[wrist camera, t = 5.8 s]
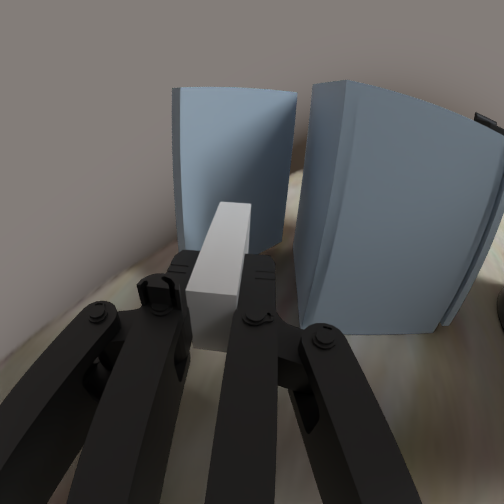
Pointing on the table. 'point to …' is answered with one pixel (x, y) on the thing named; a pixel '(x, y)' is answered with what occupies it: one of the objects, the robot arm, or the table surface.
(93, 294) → the table surface
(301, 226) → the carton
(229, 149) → the right flap
